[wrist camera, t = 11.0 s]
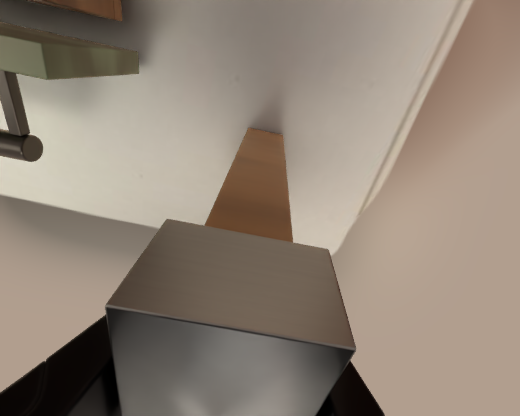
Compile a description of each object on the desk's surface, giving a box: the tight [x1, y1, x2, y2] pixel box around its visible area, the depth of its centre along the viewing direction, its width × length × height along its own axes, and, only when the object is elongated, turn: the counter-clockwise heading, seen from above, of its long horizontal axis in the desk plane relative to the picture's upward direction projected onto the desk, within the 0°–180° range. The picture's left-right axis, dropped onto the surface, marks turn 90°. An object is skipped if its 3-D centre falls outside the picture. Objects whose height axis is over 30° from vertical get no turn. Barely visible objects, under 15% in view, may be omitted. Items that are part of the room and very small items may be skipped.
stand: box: [205, 128, 293, 243], centre depth 14 cm, size 5×2×13 cm, turn 169°
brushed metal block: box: [105, 219, 356, 416], centre depth 7 cm, size 6×4×3 cm, turn 169°
